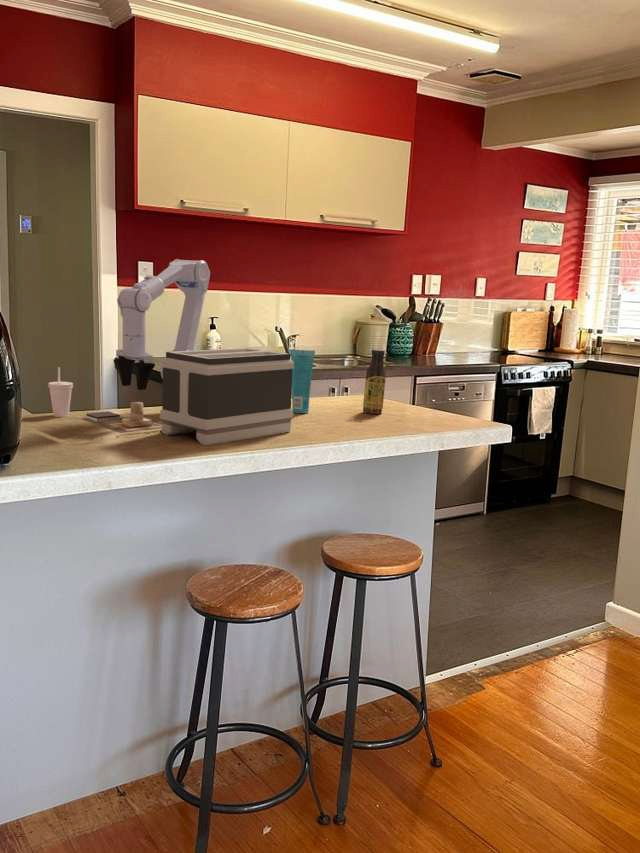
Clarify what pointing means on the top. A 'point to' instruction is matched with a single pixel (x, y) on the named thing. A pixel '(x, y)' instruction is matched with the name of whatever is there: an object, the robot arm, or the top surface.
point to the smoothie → (60, 397)
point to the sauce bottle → (375, 384)
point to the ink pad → (103, 417)
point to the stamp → (136, 417)
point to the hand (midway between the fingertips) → (133, 387)
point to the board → (121, 429)
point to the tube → (301, 379)
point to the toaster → (226, 394)
